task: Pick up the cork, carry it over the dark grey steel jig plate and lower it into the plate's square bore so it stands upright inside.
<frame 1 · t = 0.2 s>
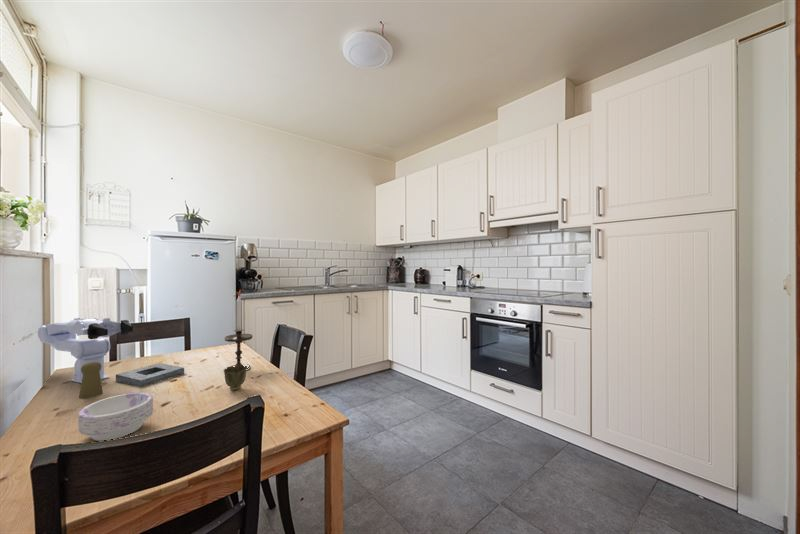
hand: (119, 330, 118), 21 cm above the table, tool horizontal, fingers open, 7 cm apart
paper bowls: (117, 432, 87), on the table
candlestick: (238, 369, 140), on the table
jig plate: (151, 377, 129), on the table
cup: (235, 390, 117), on the table
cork: (91, 395, 112), on the table
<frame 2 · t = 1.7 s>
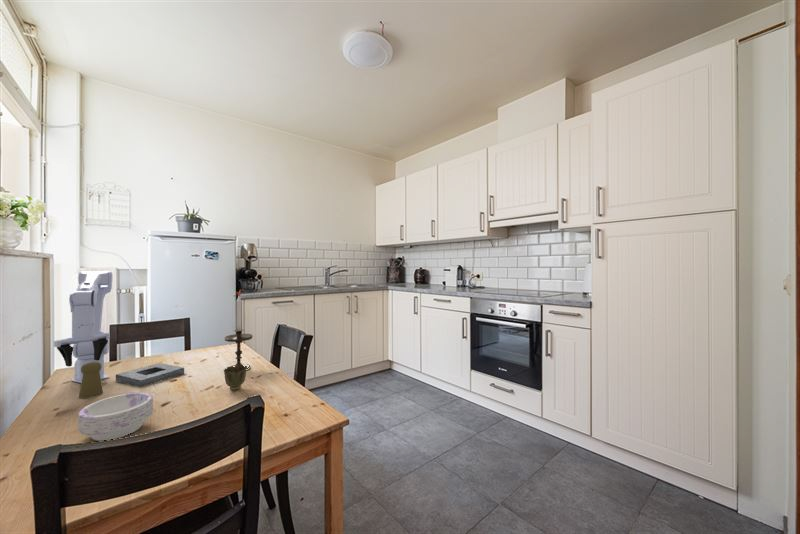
hand: (83, 362, 114), 10 cm above the table, tool pointing down, fingers open, 7 cm apart
nothing on the table moved.
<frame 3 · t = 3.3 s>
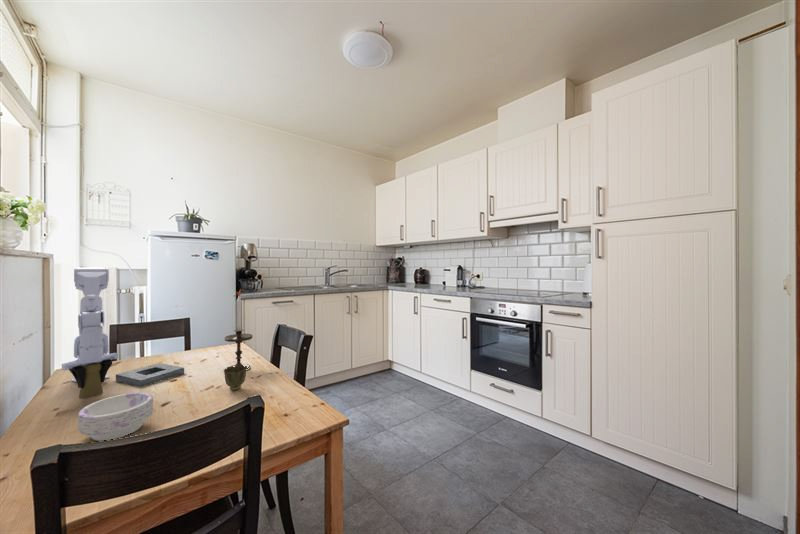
hand: (91, 384, 112), 3 cm above the table, tool pointing down, fingers closed on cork, 5 cm apart
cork: (91, 395, 112), on the table, touching gripper
everything else where it was.
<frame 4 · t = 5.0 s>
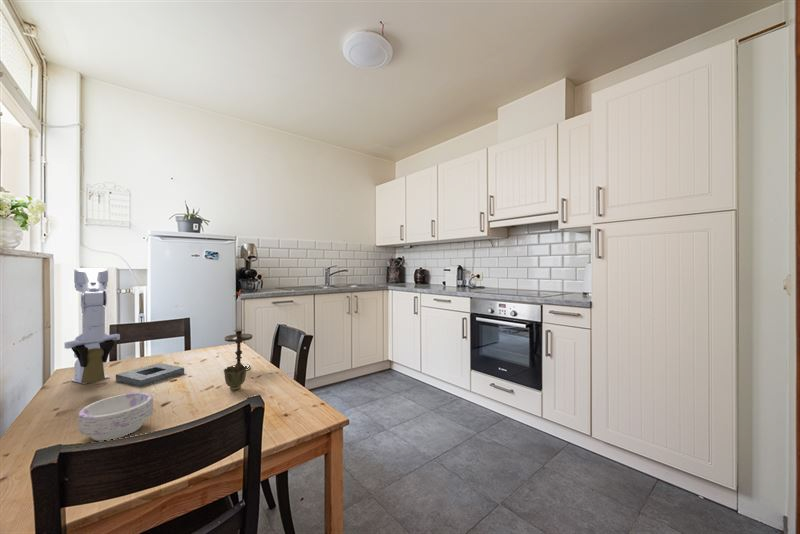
hand: (93, 364, 113), 10 cm above the table, tool pointing down, fingers closed on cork, 5 cm apart
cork: (93, 380, 112), point 5 cm above the table, touching gripper
everything else where it was.
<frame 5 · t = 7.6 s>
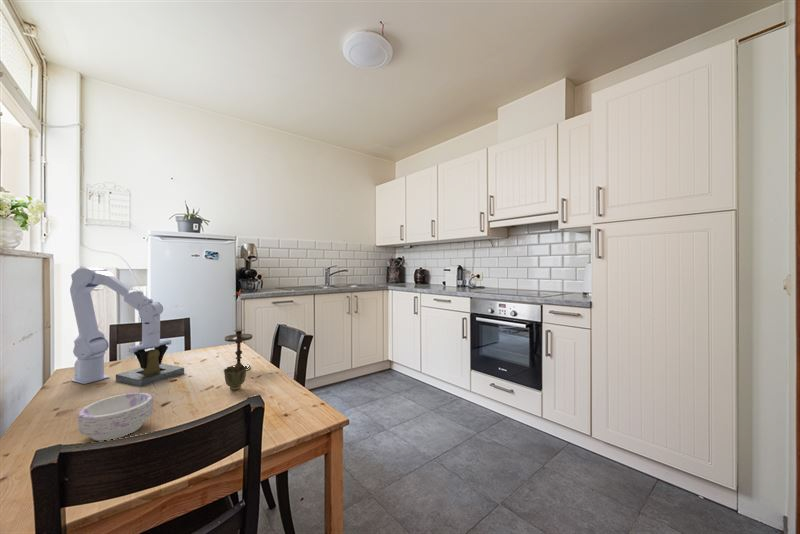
hand: (151, 366, 129), 4 cm above the table, tool pointing down, fingers closed on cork, 5 cm apart
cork: (151, 377, 129), resting in jig plate, touching gripper
everything else where it was.
when the fingers open (4 cm above the table, at t = 8.4 s): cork stays where it is, resting in jig plate.
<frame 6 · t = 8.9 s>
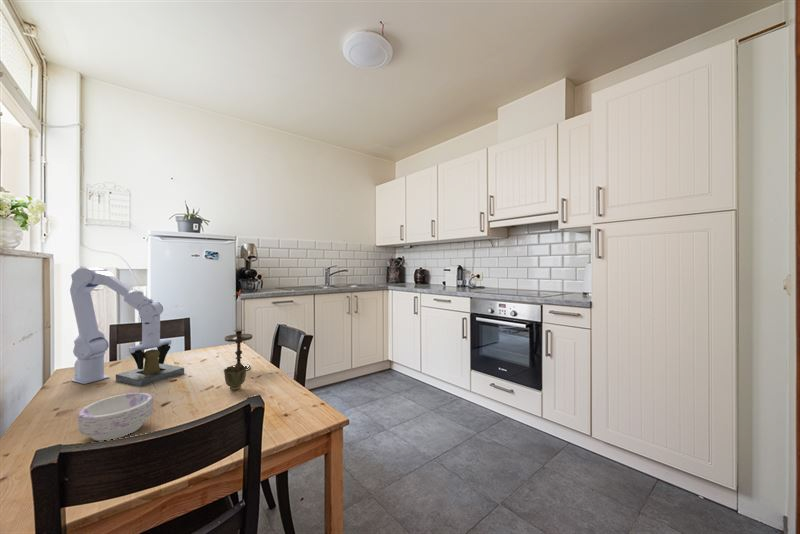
hand: (151, 366, 129), 4 cm above the table, tool pointing down, fingers open, 7 cm apart
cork: (151, 377, 129), resting in jig plate
everything else where it was.
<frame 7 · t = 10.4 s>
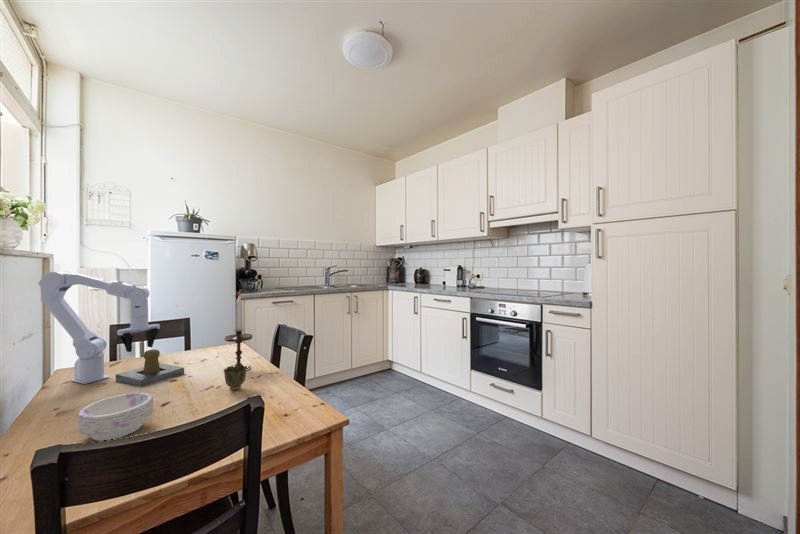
hand: (139, 349, 133), 10 cm above the table, tool pointing down, fingers open, 7 cm apart
nothing on the table moved.
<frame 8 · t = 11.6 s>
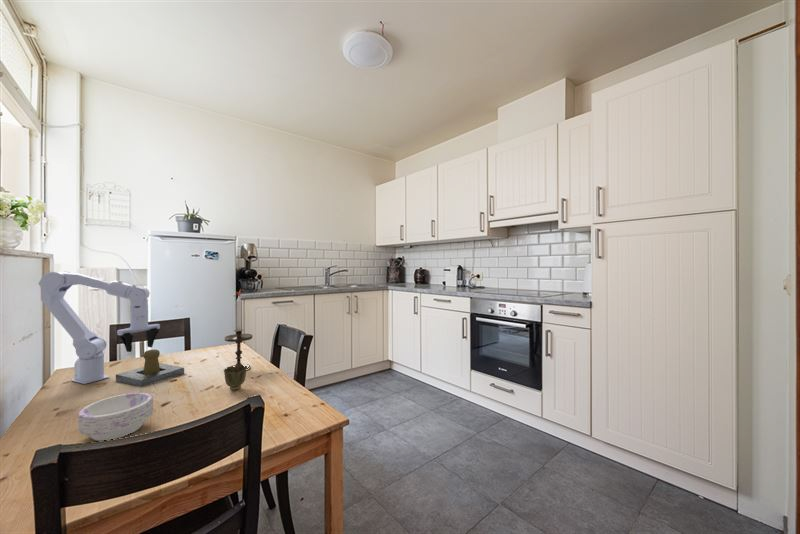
hand: (139, 349, 133), 10 cm above the table, tool pointing down, fingers open, 7 cm apart
nothing on the table moved.
at the end: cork 0.4 cm off-centre on the jig plate, point 0.0 cm above the jig plate's base; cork tilted 0°; the gripper is holding nothing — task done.
